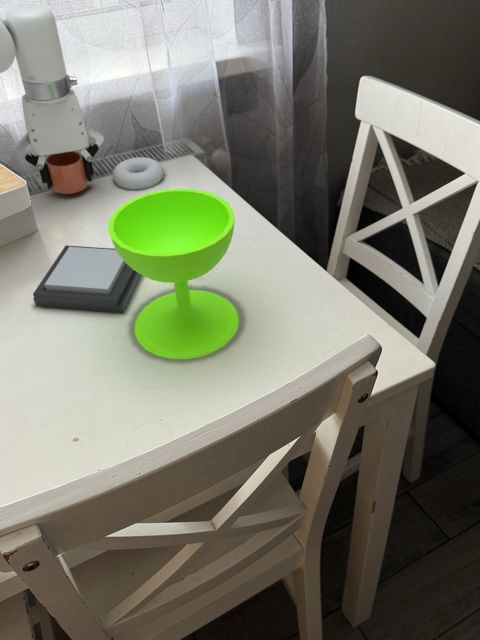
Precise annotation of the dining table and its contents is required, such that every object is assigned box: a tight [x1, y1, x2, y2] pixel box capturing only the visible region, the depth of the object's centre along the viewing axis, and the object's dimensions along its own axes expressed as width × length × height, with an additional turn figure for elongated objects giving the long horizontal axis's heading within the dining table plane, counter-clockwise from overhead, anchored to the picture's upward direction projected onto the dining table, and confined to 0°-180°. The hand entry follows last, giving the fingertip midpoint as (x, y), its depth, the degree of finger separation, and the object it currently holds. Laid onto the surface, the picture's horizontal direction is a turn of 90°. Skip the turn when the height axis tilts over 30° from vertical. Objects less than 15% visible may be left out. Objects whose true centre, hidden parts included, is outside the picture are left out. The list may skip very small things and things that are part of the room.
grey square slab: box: [45, 247, 126, 295], centre depth 93 cm, size 10×10×2 cm
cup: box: [44, 151, 89, 195], centre depth 114 cm, size 7×7×6 cm
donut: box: [112, 156, 164, 191], centre depth 119 cm, size 10×4×10 cm
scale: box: [32, 245, 143, 314], centre depth 94 cm, size 14×13×4 cm
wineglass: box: [107, 188, 240, 360], centre depth 82 cm, size 16×16×18 cm
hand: (69, 181), depth 115 cm, fingers closed on cup, 7 cm apart
